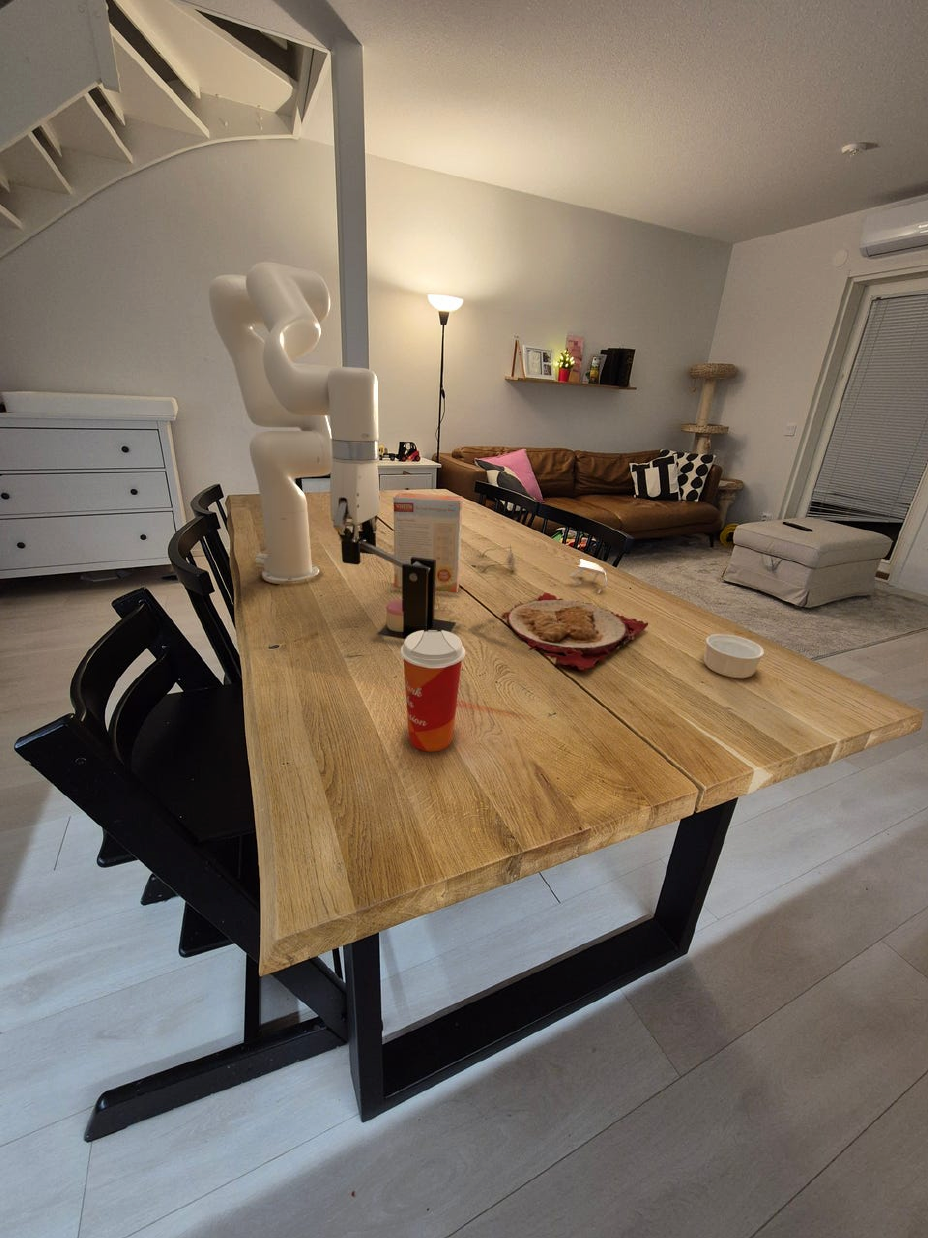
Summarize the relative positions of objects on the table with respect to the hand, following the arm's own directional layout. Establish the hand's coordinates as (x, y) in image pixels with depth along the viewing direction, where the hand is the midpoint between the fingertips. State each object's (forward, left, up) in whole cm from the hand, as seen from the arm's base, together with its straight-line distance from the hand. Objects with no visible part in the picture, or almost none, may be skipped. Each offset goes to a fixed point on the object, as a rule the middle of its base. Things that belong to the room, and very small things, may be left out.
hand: (359, 557), depth 89 cm
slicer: (+11, 0, -13) cm, 17 cm away
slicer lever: (+6, 0, -1) cm, 5 cm away
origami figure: (+40, +39, -14) cm, 58 cm away
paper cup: (+23, -28, -13) cm, 39 cm away
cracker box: (+5, +22, -14) cm, 26 cm away
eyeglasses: (+16, +46, -14) cm, 51 cm away
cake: (+8, 0, -12) cm, 15 cm away
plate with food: (+36, +11, -13) cm, 40 cm away
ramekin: (+65, +7, -13) cm, 67 cm away
